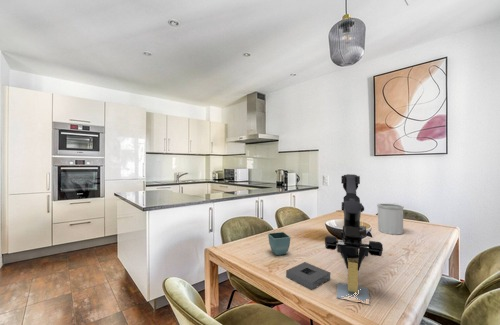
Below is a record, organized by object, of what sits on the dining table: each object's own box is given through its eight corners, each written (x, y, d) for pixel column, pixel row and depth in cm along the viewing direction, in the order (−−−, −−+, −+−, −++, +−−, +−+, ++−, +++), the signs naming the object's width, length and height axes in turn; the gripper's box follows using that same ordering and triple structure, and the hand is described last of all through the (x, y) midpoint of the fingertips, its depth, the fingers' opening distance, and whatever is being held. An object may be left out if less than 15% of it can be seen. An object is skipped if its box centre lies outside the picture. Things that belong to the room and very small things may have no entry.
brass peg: (347, 286, 81) (347, 258, 81) (357, 288, 80) (357, 259, 79) (348, 291, 78) (348, 261, 78) (357, 292, 77) (357, 263, 77)
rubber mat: (337, 283, 85) (337, 282, 85) (367, 289, 81) (367, 288, 81) (336, 298, 76) (336, 297, 76) (370, 305, 72) (370, 304, 72)
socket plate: (305, 267, 98) (305, 262, 98) (330, 278, 89) (330, 272, 89) (286, 276, 90) (286, 270, 90) (311, 289, 81) (311, 282, 81)
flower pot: (273, 257, 108) (273, 238, 108) (267, 250, 117) (267, 233, 117) (290, 255, 111) (290, 237, 111) (283, 248, 119) (283, 231, 119)
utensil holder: (372, 229, 153) (372, 203, 153) (386, 227, 159) (386, 202, 159) (393, 236, 139) (394, 207, 139) (408, 233, 146) (408, 205, 146)
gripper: (325, 214, 86) (322, 254, 76) (382, 219, 79) (387, 264, 69) (326, 229, 93) (324, 268, 83) (378, 235, 86) (383, 278, 76)
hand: (352, 269), depth 77 cm, fingers closed on brass peg, 3 cm apart
